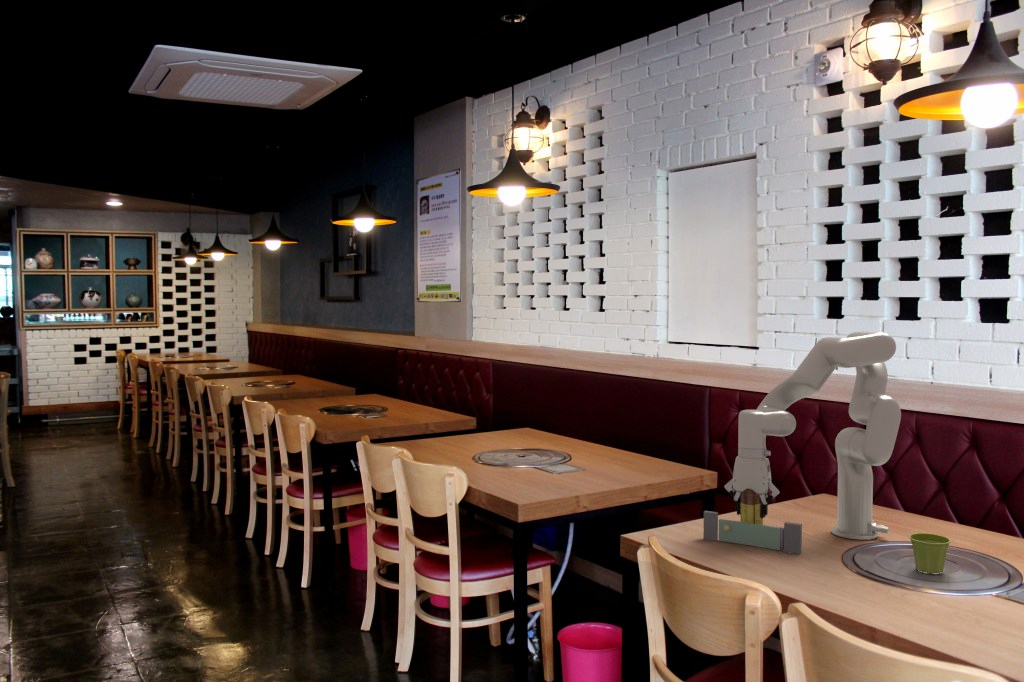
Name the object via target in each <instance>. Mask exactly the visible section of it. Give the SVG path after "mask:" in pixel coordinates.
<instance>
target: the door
mask: <svg viewBox="0 0 1024 682" xmlns="http://www.w3.org/2000/svg"><path fill="white" fill-rule="evenodd" d="M718 541H719V542H720V541H721V542H726V543H727V542H728V543H733V544H738V545H740V544H741V545H746V546H752V547H757V548H758V547H759V548H766V549H772V550H778V551H784V527H781V526H773V525H766V524H763V525H760V524H753V523H746V522H741V521H738V520H730V519H725V518H718Z"/></svg>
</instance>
